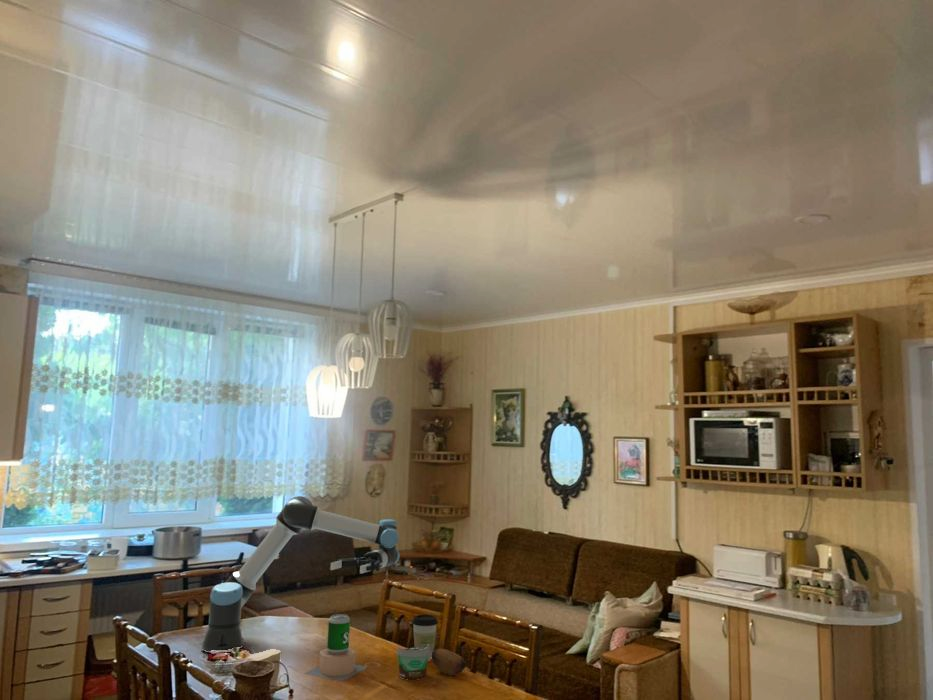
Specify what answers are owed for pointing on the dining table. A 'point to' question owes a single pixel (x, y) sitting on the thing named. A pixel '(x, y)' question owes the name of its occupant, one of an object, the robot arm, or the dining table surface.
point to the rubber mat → (316, 673)
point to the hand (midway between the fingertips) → (345, 568)
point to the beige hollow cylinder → (336, 663)
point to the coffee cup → (425, 631)
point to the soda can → (338, 634)
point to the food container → (413, 662)
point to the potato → (448, 661)
